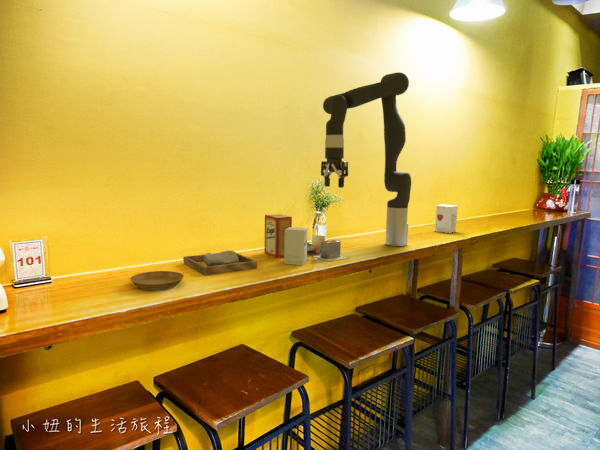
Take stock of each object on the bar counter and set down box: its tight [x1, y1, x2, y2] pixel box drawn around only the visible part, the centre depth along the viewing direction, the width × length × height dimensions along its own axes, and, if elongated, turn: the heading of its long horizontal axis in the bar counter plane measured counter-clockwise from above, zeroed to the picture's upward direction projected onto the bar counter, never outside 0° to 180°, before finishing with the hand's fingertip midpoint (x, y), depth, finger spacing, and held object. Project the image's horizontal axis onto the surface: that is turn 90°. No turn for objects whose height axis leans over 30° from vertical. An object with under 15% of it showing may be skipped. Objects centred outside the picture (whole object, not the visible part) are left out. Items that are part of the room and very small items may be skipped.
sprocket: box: [307, 234, 326, 253], centre depth 174 cm, size 14×14×6 cm
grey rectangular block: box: [319, 239, 342, 259], centre depth 163 cm, size 9×4×6 cm, turn 126°
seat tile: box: [312, 254, 349, 262], centre depth 163 cm, size 10×10×1 cm
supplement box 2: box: [434, 203, 459, 234], centre depth 234 cm, size 9×9×15 cm
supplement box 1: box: [283, 226, 309, 266], centre depth 153 cm, size 7×7×13 cm
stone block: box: [202, 250, 240, 267], centre depth 150 cm, size 12×5×10 cm
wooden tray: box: [182, 252, 258, 276], centre depth 146 cm, size 19×19×2 cm
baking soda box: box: [264, 213, 293, 259], centre depth 165 cm, size 10×6×16 cm
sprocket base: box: [307, 252, 320, 255], centre depth 174 cm, size 13×13×1 cm
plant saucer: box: [129, 270, 184, 291], centre depth 122 cm, size 15×15×3 cm
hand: (333, 187), depth 172 cm, fingers open, 8 cm apart
